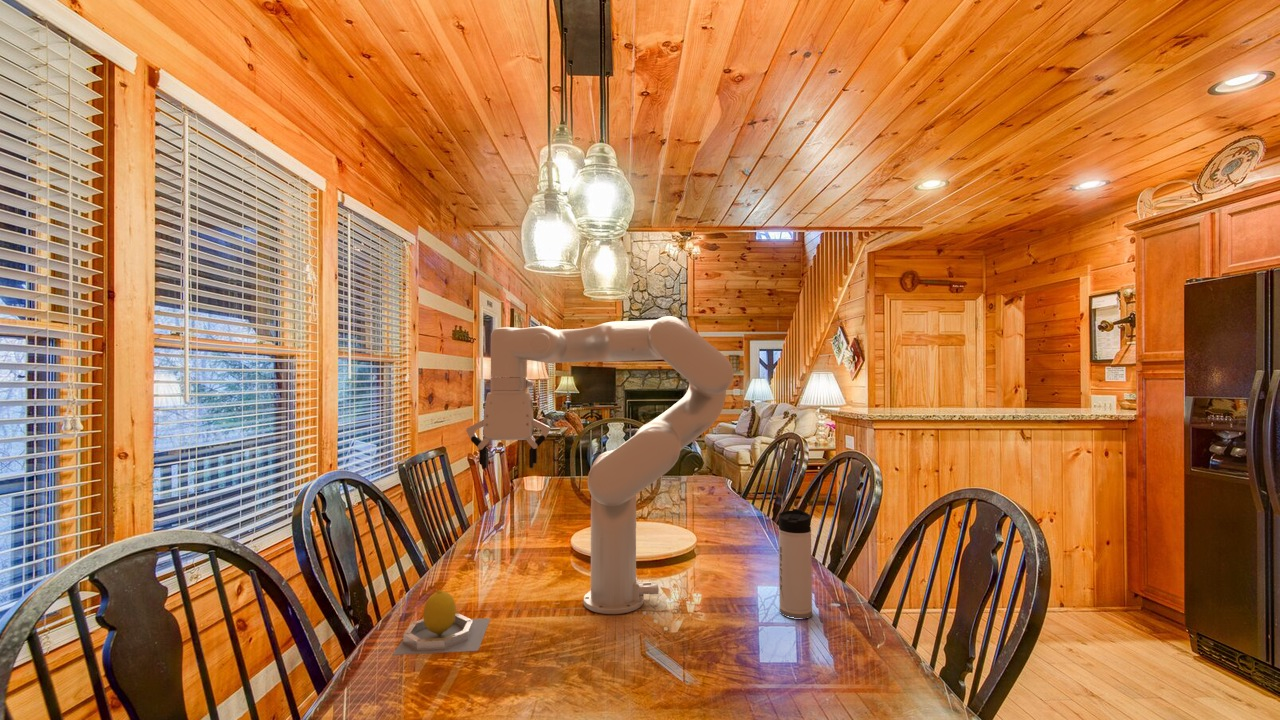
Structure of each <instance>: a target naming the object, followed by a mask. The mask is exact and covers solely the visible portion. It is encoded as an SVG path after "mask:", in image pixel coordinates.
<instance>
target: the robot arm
mask: <svg viewBox="0 0 1280 720" xmlns="http://www.w3.org/2000/svg"><path fill="white" fill-rule="evenodd" d="M658 360H661V361H664V362H666V363H667V364H668V365H669V367H672V368H673V369H674V370H675V371H676V372H677V373H678V374H680V376H682V377H683V378H684V379H685V380H687V381H688V383H689V384H688V389H687V391H686V393H685V394H684V395H683V397H682V398H680V399H679V400H678V401H677V402H676V403H674V404H673V405H672V406H671V407H669V408H668V409H667V410H665V411H664V412H662V413H661V414H659V415H658V416H656V417H655V418H653V419H652V420H650V421H649V422H647V423H645V424H643V425H642V426H641V427H639V428H638V430H637V431H636V432H635V434H634V435H633V436H631V437H630V438H628V440H626V441H625V442H623V443H622V444H621V445H619V446H618V447H617V448H615V449H613V450H607V451H604V452H602V453H600V454H599V455H598V456H597V457H596V458H595V460H594V461H593V463H592V465H591V467H590V469H589V472H588V475H587V488H588V492H589V493H590V496H591V498H590V504H591V505H590V590H589V591H588V592H586V593H585V595H584V596H583V599H582V600H583V601H582V603H583V606H584V607H585V608H586V609H587V610H589V611H591V612H594V613H597V614H604V615H620V614H621V615H622V614H626V613H631V612H633V611H636V610H639V608H641V607H642V606H643V604H644V601H645V600H644V598H645V597H644V595H659V592H660V591H659V584H652V581H644V582H643V581H642V582H641V581H640V580H638V577H637V576H638V575H637V495H638V494H639V493H641V492H642V491H643V490H645V489H646V488H647V487H649V486H650V485H652V484H653V483H654V482H656V481H657V480H658V479H660V478H661V477H663V476H664V475H666V474H667V473H668V472H669V471H670V470H671V469H672V468H673V467H674V466H675V464H676V463H677V462H678V460H679V457H680V454H681V451H682V450H683V449H685V448H686V447H687V446H688V445H690V444H691V443H693V442H694V441H695V440H696V439H698V437H700V436H701V435H703V433H705V432H706V431H707V430H709V429H710V428H711V427H712V426H713V425H714V423H715V422H716V421H717V420H718V418H719V417H720V415H721V413H722V411H723V408H724V405H725V403H726V402H725V401H726V397H727V390H728V389H729V388H730V387H731V385H732V383H733V380H734V376H735V375H734V368H733V366H732V363H731V362H730V360H729V359H728V357H726V355H724V354H723V353H722V352H721V351H719V350H718V349H717V348H716V347H715V346H714V345H712V344H711V343H710V342H708V341H707V340H706V339H704V337H703V336H701V334H699V333H698V332H697V331H695V330H694V329H693V328H691V327H690V325H688V323H686V322H685V321H683V320H682V319H681V318H679V317H676V316H670V315H668V316H662V317H660V318H657V319H650V320H649V319H648V320H629V321H627V320H625V321H624V320H623V321H622V320H620V321H609V322H604V323H603V322H602V323H600V324H598V325H596V326H592V327H585V328H574V329H573V328H570V329H569V328H566V329H554V328H552V327H550V326H548V325H547V326H546V325H539V326H538V325H537V326H531V327H523V328H522V327H521V328H519V327H496V328H494V329H493V330H492V332H491V334H490V392H487V395H486V397H485V405H484V412H483V413H484V415H483V419H482V420H480V421H478V422H477V423H474V424H473V425H471V426H469V427H467V428H466V430H465V431H466V434H467V435H468V437H469V438H470V441H471V442H472V443H473V444H474V445H475V446H476V447H477V449H478V450H479V465H481V468H482V470H485V469H487V468H488V467H489V448H488V444H489V443H490V442H491V441H526V442H527V443H528V444H529V446H530V448H529V452H528V453H529V454H528V455H529V456H528V457H529V458H528V459H529V461H528V462H529V463H528V467H529V468H530V469H533V468H534V466H535V464H538V447H539V446H540V445H541V444H542V443H543V442H544V441H545V440H546V439H547V436H548V434H549V433H550V430H551V427H550V426H549V425H547V424H545V423H543V422H541V421H538V420H537V419H534V407H533V405H534V404H533V398H532V393H531V392H528V389H530V388H534V387H535V382H534V380H530V379H528V361H531V362H540V363H546V364H557V363H559V364H561V363H581V362H583V363H584V362H601V363H614V362H631V361H632V362H633V361H636V362H637V361H638V362H639V361H658ZM534 427H535V428H537V429H539V430H541V434H540V436H538V437H537V438H536V439H535V437H534V436H533V435H534V431H535V430H534V429H535V428H534ZM481 428H482V430H483V437H484V438H483V439H481V438H479V437H478V436H477V433H476V431H477V430H479V429H481Z"/></svg>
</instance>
